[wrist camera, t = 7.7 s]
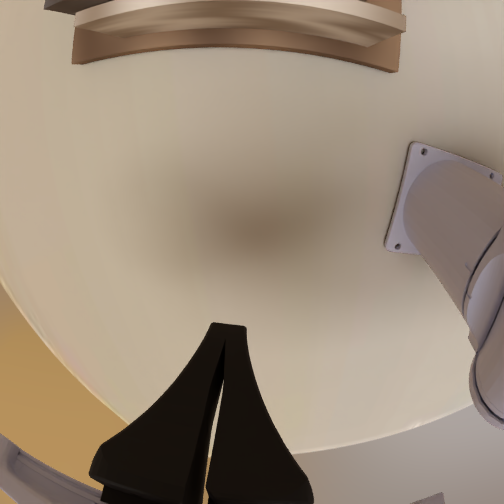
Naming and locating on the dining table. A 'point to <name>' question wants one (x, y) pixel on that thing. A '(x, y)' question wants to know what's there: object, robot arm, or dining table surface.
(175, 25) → the gauge base
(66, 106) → the dining table surface
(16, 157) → the dining table surface
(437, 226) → the robot arm
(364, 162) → the dining table surface
